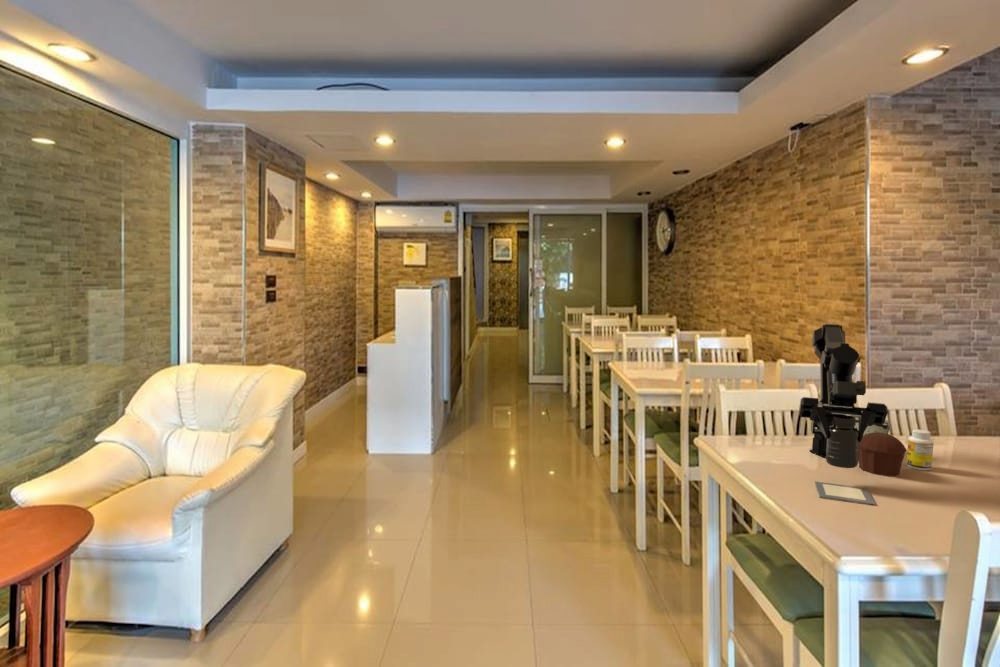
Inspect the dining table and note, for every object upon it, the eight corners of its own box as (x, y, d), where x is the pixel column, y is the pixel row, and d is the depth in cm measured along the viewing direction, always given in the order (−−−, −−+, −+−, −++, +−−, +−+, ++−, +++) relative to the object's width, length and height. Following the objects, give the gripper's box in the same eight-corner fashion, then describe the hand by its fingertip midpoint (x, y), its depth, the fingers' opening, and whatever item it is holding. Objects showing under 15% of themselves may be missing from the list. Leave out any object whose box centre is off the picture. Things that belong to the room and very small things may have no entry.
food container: (897, 454, 170) (900, 421, 169) (888, 458, 167) (890, 423, 166) (852, 444, 180) (855, 413, 179) (843, 447, 177) (845, 415, 176)
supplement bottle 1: (841, 459, 147) (844, 412, 146) (864, 467, 140) (868, 419, 139) (818, 461, 145) (822, 414, 144) (841, 469, 138) (844, 420, 137)
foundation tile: (814, 482, 144) (815, 481, 144) (866, 489, 140) (866, 487, 140) (819, 497, 134) (819, 495, 134) (875, 505, 130) (875, 503, 130)
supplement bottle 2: (907, 463, 162) (910, 427, 161) (931, 467, 158) (934, 430, 157) (905, 468, 157) (908, 431, 156) (930, 472, 154) (933, 434, 153)
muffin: (844, 464, 160) (846, 428, 159) (881, 463, 161) (884, 428, 160) (876, 478, 148) (878, 440, 148) (916, 477, 149) (919, 439, 149)
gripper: (802, 365, 148) (803, 417, 139) (889, 371, 140) (896, 426, 131) (798, 391, 156) (799, 441, 147) (880, 397, 148) (886, 450, 139)
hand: (843, 439), depth 141 cm, fingers closed on supplement bottle 1, 7 cm apart
